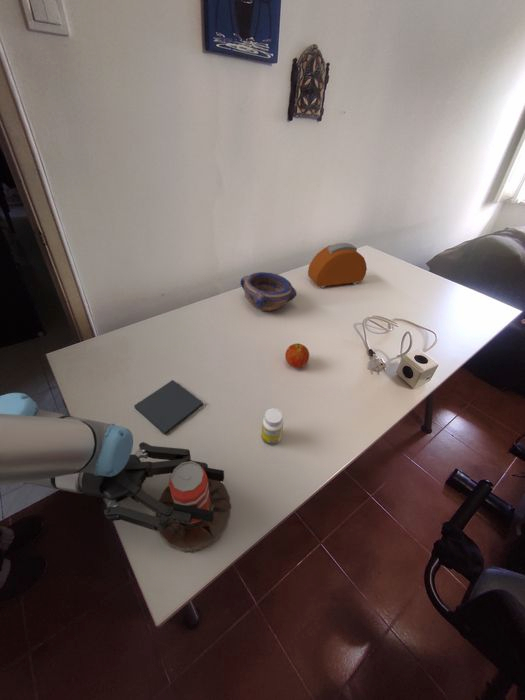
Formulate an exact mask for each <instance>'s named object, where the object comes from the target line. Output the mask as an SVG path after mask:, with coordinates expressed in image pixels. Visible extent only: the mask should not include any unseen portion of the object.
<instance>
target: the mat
mask: <svg viewBox="0 0 525 700" xmlns="http://www.w3.org/2000/svg"><path fill="white" fill-rule="evenodd" d="M203 406H204V402H203V401H202V400H200V399H199V398H197V396H195V395H194V394H192V393H191V392H190V391H188V390H187V389H185V388H184V387H183V386H181V385H180V384H179V383H178V382H177V381H175V380H173V379H172V380H170V381H169V382H167V383H166V384H164V385H162V386H161V387H160V388H158V389H157V390H155V391H153V392H152V393H151V394H149V395H148V396H146V397H145V398H143V399H142V400H140V401H139V402H137V403H136V404H134V405H133V407H134V410H136V411H138V413H140V414H141V416H143V417H144V418H145V419H146V420H147V421H149V422H150V424H152V425H153V426H154V427H155V428H156V429H157V430H159V431H160V432H161V433H162V434H163V435H165V436H166V435H167V434H169V433H170V432H171V431H173V429H175V428H176V427H177V426H179V425H180V424H181V423H182V422H184V421H185V420H187V419H188V418H189V417H190V416H191V415H193V414H195V413H196V411H198V410H199V409H200V408H202V407H203Z"/></svg>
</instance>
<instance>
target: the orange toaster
mask: <svg viewBox="0 0 525 700" xmlns="http://www.w3.org/2000/svg"><path fill="white" fill-rule="evenodd" d="M357 250H358V247H356V246H354V244H351V243H347V242H338V243H335V244H331V245H328V246H325V248H322V249H321V250H319V252H317V253H316V254H315V255H314V257H312V259H311V261H310V264H309V265H308V269H307V276H308V277H309V279H310V280H311V281H312V282H313V283H314V284H315V285H316V286H317V287H320V288H321V289H325V287H329V286H337V285H344V284H345V285H346V284H352V285H357V283H360V282H362V281H363V280H364V278H365V277H366V275H367V269H368V268H367V263H366V262H367V261H366V259H365V257H364V256H363V255H362V254H360V253H359V252H358V251H357Z"/></svg>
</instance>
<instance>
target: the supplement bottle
mask: <svg viewBox="0 0 525 700" xmlns="http://www.w3.org/2000/svg"><path fill="white" fill-rule="evenodd" d="M283 417H284V415H283V412H282V411H281V410H280V409H279V408H276V407H272V408H269V409H267V410H266V411H265V412H264V417H263V419H262V422H261V423H262V424H261V435H260V437H261V440H262V441H263V442H264V444H266V445H268V446H276V445H278V444H279V443H280V442H281V439H282V435H283V430H284V429H283V428H284V419H283Z"/></svg>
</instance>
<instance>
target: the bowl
mask: <svg viewBox="0 0 525 700" xmlns="http://www.w3.org/2000/svg"><path fill="white" fill-rule="evenodd" d="M240 286H241V288H242V290H243V292H244V297H245V299H246V300H247V302H248V303H249V304H250V305H251V306H253V307H254V308H255V309H257V310H259V311H262V312H271V311H275V310H278V309H280V308H281V307H283V306H284V305H285V304H287V303H289V302H291V301H292V300H293V299H295V298H296V296H297V291H296V289H295V288H294V287H293V285H292V283H291V282H290V281H289V280H288V279H287V278H286V277H284V276H282V275H280V274H277V273H273V272H265V271H263V272H261V271H258V272H253V273H251V274H249V275H244V276H242V278H241V279H240Z"/></svg>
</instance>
